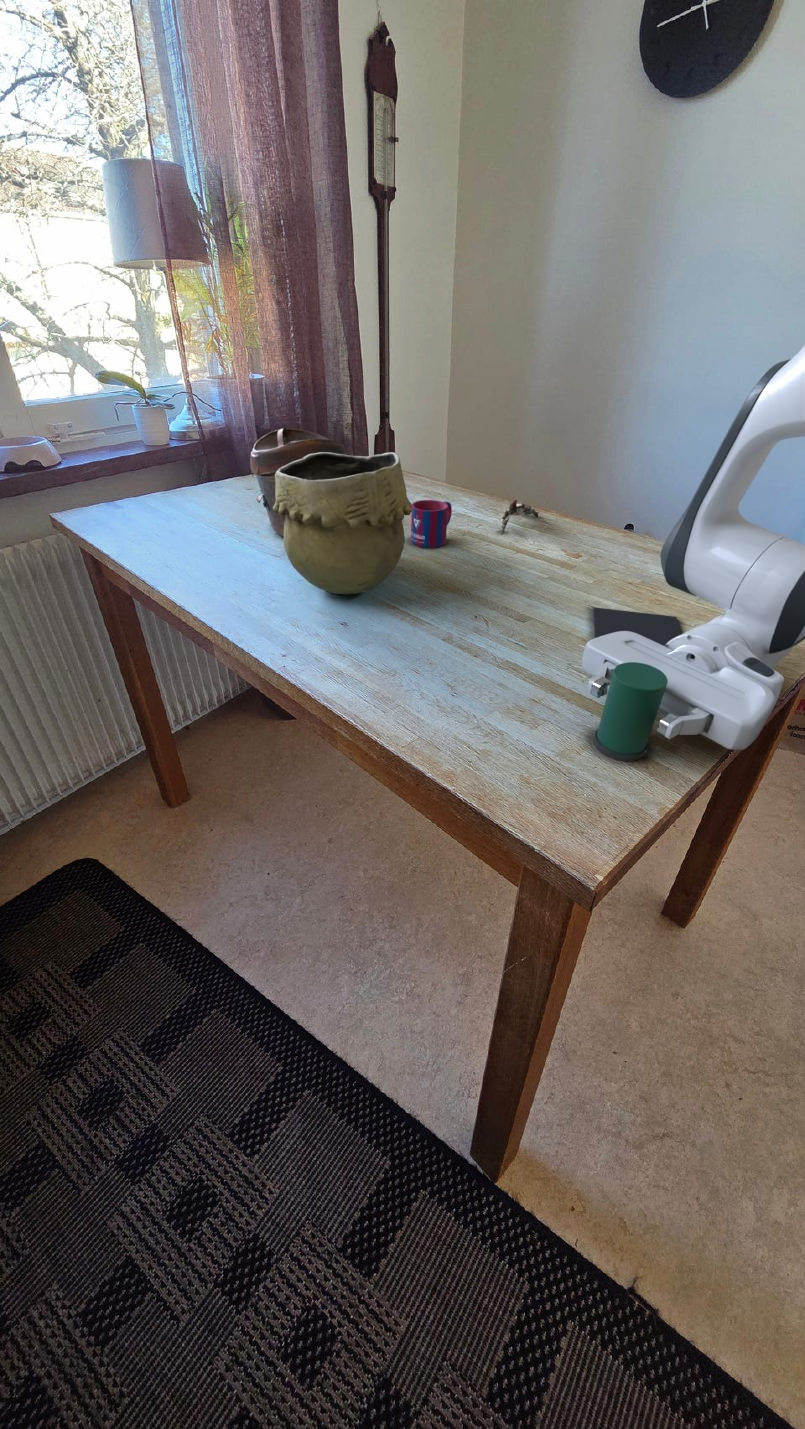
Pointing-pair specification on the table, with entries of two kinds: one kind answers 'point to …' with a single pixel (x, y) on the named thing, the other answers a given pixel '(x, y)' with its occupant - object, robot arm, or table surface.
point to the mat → (636, 624)
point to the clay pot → (343, 518)
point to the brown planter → (284, 462)
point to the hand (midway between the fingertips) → (626, 708)
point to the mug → (429, 523)
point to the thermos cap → (630, 711)
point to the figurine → (516, 512)
